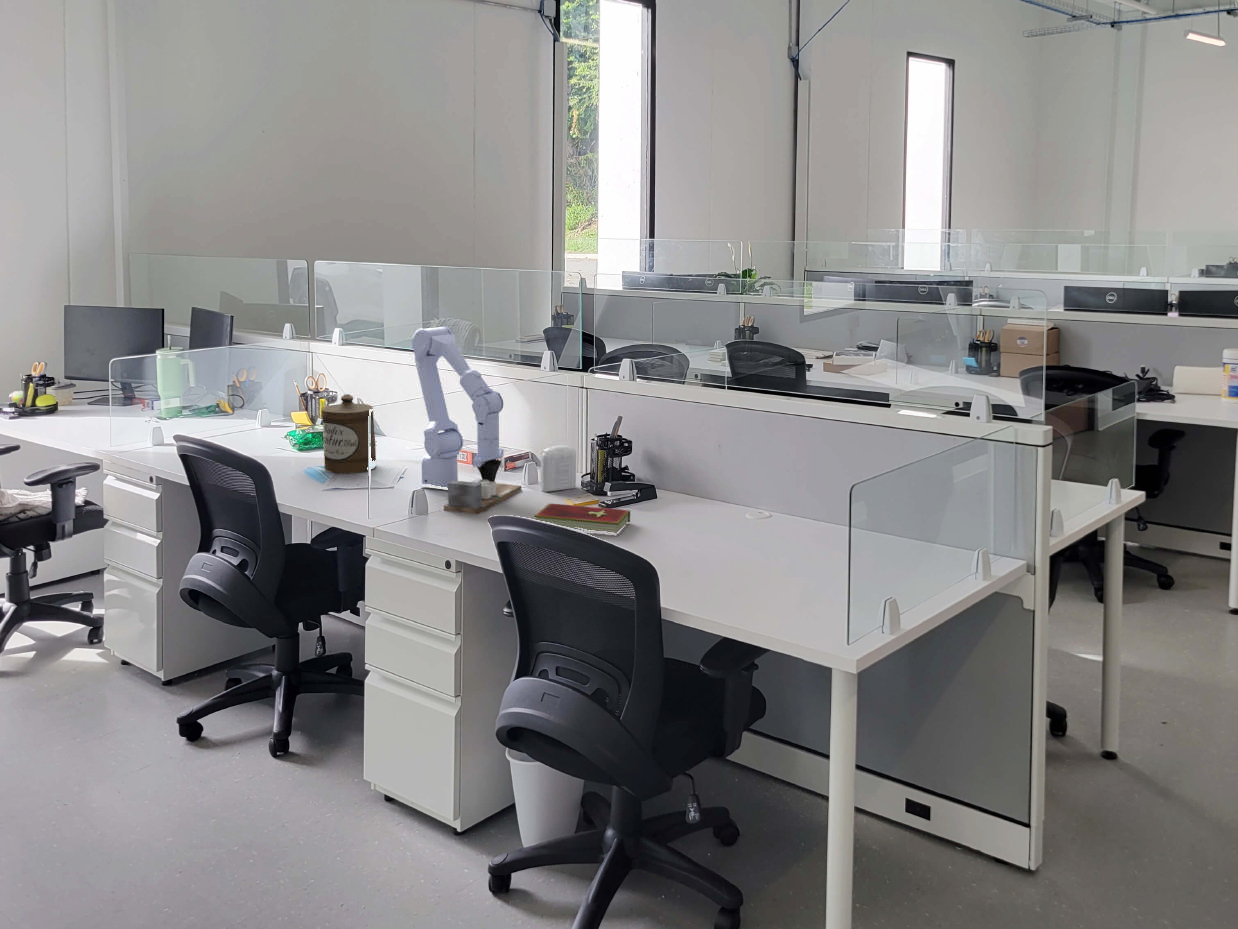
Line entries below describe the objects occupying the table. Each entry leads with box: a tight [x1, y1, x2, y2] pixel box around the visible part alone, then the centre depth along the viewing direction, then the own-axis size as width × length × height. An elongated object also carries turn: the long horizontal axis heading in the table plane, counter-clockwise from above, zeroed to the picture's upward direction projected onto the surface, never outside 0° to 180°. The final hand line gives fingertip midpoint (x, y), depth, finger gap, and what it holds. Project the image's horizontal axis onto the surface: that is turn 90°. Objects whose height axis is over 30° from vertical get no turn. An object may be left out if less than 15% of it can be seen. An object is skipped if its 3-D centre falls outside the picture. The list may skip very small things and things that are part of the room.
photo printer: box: [540, 444, 577, 493], centre depth 298 cm, size 10×4×12 cm, turn 123°
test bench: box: [443, 480, 522, 515], centre depth 287 cm, size 10×26×7 cm, turn 161°
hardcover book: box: [533, 502, 631, 533], centre depth 265 cm, size 12×21×4 cm, turn 75°
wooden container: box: [321, 393, 377, 474], centre depth 317 cm, size 15×15×22 cm
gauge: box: [471, 478, 498, 499], centre depth 283 cm, size 8×8×4 cm
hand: (488, 487), depth 289 cm, fingers closed
